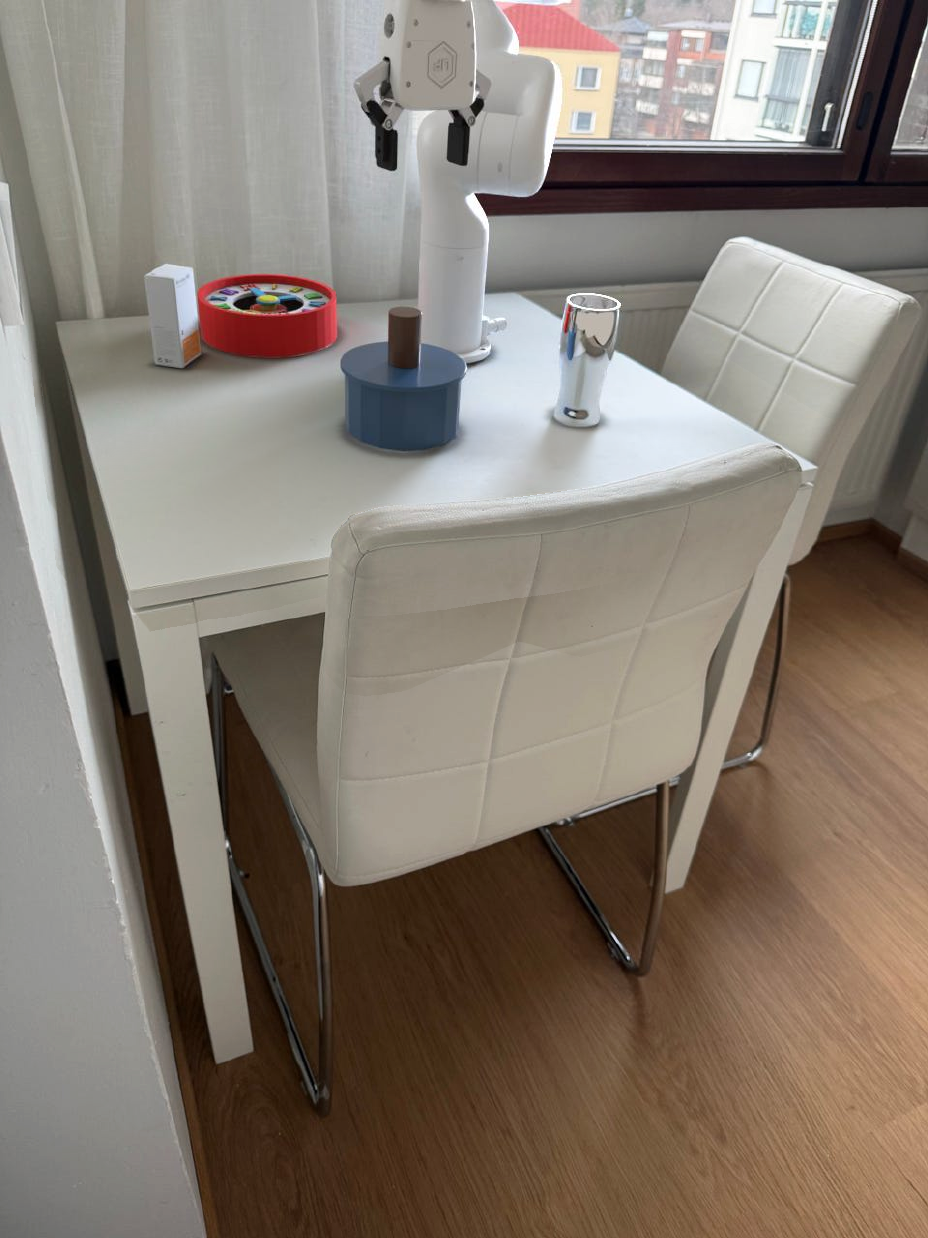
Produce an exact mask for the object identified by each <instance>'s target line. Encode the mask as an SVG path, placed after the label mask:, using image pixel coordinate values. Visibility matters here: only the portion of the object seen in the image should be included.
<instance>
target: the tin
mask: <svg viewBox="0 0 928 1238" xmlns="http://www.w3.org/2000/svg"><path fill="white" fill-rule="evenodd" d="M461 392H462V380H461V381H460V382H458V383H457V384H455V385H453V386H450V387H447V388H443V389H439V390H434V391H426V392H395V391H387V390H381V389H376V388H372V387H368V386H365V385H362V384H359V383H357V382H355V381H353V380H351V379H350V378H348V377H347V376H346V375H345V374H344V412H345V413H344V415H345V420H344V421H345V426H346V427H345V428H346V430H347V432H348V435H350V436H352V437H353V438H354V439H355V440H357V441H358V442H360V443H362V444H365V445H369V446H372V447H375V448H377V449H382V450H392V451H398V452H413V451H425V450H426V451H427V450H429V449H433V448H437V447H441V446H444V445H446V444H447V443H449V442H450V441H452V440H456V439H457V436H458V430H459V426H460V425H459V424H460V410H461V409H460V407H461V394H462V393H461Z"/></svg>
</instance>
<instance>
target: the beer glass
mask: <svg viewBox="0 0 928 1238" xmlns="http://www.w3.org/2000/svg"><path fill="white" fill-rule="evenodd" d="M620 309H621V303H620V302H619V301H618V300H617V299H615V298H613V297H610V296H607V295H602V294H596V293H576V294H571V295H568V296H567V297H566V299H565V306H564V310H563V315H562V320H561V326H560V332H559V342H558V361H559V362H558V363H559V393H558V397H557V400H556V403H555V406H554V409H553V416H552V417H553V418H554V420H556V421H557V422H558V423H560V424H562V425H565V426H568V427H573V428H590V427H593V426H596V425H598V424H599V423H600V420H601V396H602V395H601V394H602V390H603V387H604V383H605V380H606V377H607V375H608V372H609V368H610V366H611V362H612V359H613V357H614V353H615V349H616V344H617V339H618V332H619V323H620V322H619V321H620Z"/></svg>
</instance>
